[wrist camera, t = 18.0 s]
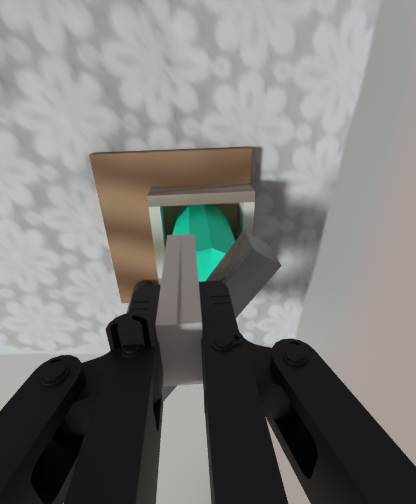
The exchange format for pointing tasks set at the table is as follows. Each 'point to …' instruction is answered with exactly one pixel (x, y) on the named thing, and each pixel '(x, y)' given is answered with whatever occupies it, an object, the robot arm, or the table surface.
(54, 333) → the table surface
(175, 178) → the board
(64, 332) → the table surface
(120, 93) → the table surface
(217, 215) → the candle
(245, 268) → the bar
